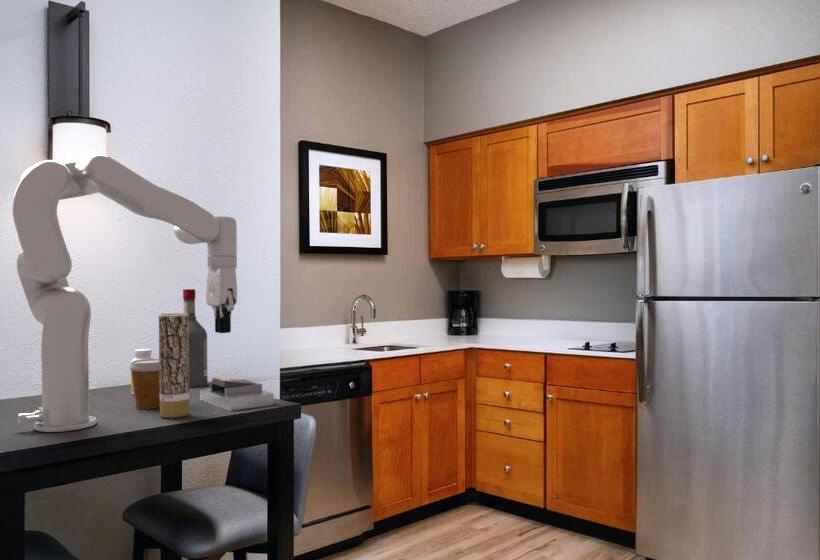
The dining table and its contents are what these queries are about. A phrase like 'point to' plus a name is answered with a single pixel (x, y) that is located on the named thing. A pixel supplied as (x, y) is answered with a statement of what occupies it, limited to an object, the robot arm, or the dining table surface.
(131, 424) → the dining table surface
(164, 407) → the paper tube
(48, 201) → the robot arm
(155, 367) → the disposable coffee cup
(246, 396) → the breaker panel
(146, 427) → the dining table surface
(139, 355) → the supplement bottle
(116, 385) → the dining table surface
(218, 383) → the breaker rocker
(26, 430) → the dining table surface
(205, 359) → the liquor
